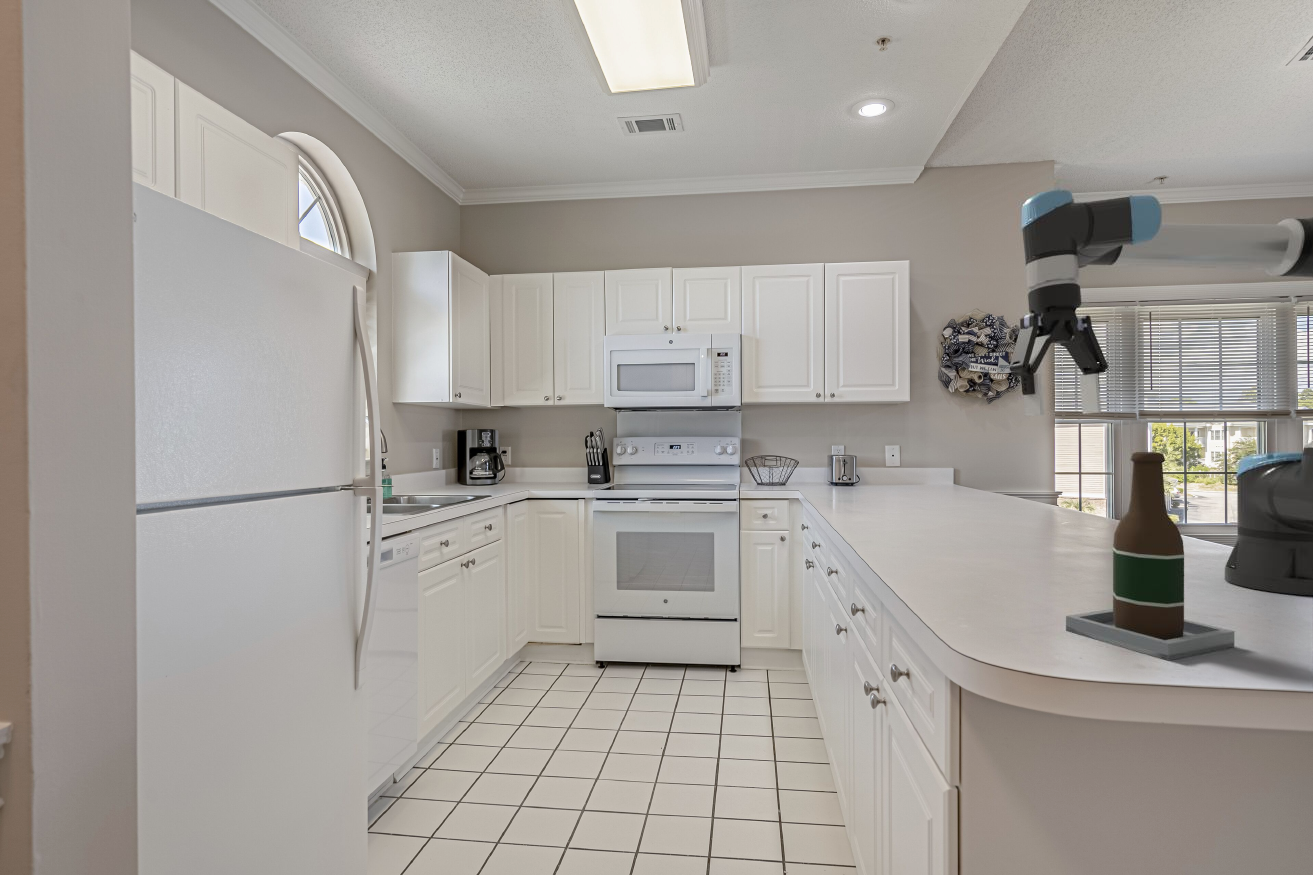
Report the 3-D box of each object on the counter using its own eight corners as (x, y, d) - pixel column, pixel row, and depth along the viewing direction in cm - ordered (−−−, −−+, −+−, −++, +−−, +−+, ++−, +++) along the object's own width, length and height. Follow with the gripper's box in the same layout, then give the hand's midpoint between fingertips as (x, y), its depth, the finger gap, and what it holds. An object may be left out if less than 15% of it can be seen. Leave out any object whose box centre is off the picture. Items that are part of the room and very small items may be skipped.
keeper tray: (1128, 619, 96) (1128, 606, 96) (1234, 646, 84) (1234, 631, 84) (1066, 630, 92) (1066, 615, 92) (1168, 660, 80) (1168, 643, 80)
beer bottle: (1158, 625, 92) (1159, 451, 91) (1199, 643, 84) (1200, 453, 84) (1099, 624, 92) (1099, 451, 92) (1134, 641, 85) (1135, 453, 84)
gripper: (1082, 296, 119) (1092, 414, 118) (979, 290, 110) (989, 418, 109) (1125, 284, 112) (1136, 410, 111) (1019, 277, 103) (1030, 414, 102)
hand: (1063, 414), depth 110 cm, fingers open, 13 cm apart
